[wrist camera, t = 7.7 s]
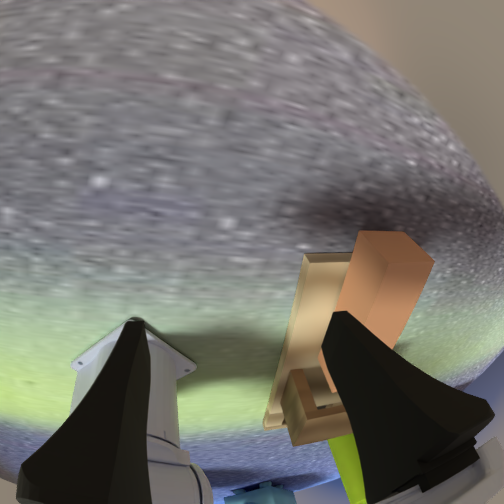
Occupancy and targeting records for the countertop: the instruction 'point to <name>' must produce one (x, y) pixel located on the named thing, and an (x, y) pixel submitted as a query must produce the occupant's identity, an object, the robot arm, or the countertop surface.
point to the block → (382, 284)
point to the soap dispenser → (349, 467)
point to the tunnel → (310, 413)
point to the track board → (309, 332)
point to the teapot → (262, 495)
